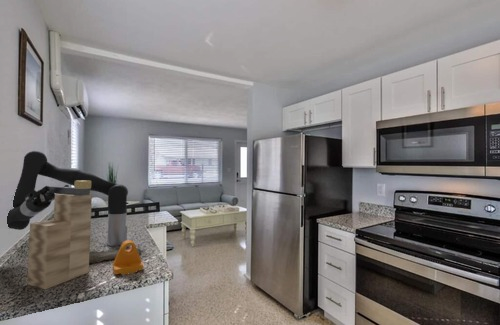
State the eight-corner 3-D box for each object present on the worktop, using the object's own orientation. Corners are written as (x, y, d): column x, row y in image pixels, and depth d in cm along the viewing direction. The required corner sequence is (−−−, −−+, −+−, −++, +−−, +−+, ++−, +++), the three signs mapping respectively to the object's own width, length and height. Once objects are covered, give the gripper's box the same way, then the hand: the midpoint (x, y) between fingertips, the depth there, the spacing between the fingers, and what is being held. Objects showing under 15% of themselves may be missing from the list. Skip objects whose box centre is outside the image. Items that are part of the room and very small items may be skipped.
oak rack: (27, 284, 91) (31, 195, 92) (71, 268, 106) (74, 192, 107) (45, 289, 88) (49, 197, 89) (88, 272, 103) (91, 193, 104)
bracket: (114, 276, 99) (115, 246, 100) (112, 270, 105) (113, 241, 106) (143, 271, 105) (144, 242, 106) (140, 265, 111) (141, 238, 112)
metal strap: (47, 192, 104) (47, 179, 105) (57, 192, 108) (57, 179, 108) (81, 195, 98) (81, 181, 98) (90, 194, 101) (91, 180, 101)
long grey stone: (142, 259, 124) (138, 254, 132) (143, 248, 124) (139, 244, 132) (52, 270, 103) (53, 264, 111) (54, 257, 104) (55, 251, 112)
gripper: (13, 198, 104) (36, 179, 99) (50, 195, 117) (73, 178, 112) (18, 215, 102) (42, 196, 98) (55, 210, 116) (78, 193, 111)
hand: (58, 187), depth 105 cm, fingers open, 7 cm apart
